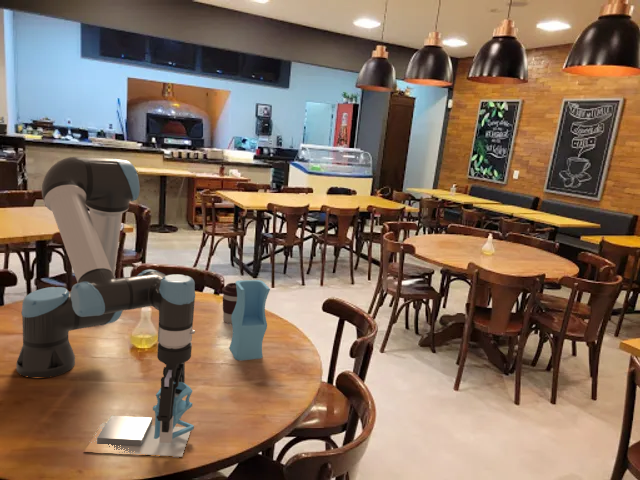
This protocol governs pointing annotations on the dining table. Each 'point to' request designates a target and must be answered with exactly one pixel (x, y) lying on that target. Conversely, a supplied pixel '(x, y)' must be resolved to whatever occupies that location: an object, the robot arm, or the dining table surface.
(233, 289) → the coffee cup
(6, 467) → the dining table surface
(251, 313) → the blue wavy holder
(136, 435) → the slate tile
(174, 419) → the chair
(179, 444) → the mat
